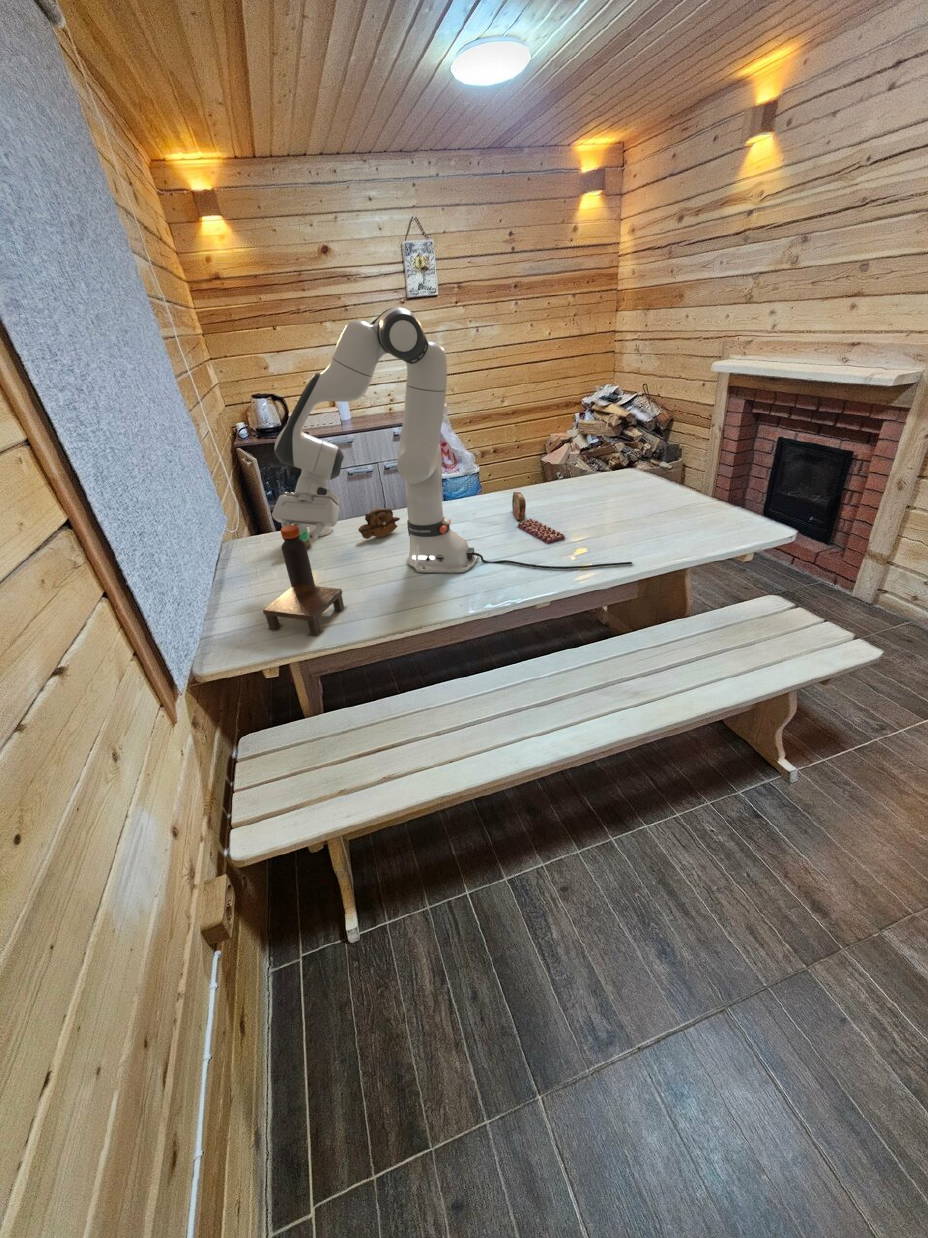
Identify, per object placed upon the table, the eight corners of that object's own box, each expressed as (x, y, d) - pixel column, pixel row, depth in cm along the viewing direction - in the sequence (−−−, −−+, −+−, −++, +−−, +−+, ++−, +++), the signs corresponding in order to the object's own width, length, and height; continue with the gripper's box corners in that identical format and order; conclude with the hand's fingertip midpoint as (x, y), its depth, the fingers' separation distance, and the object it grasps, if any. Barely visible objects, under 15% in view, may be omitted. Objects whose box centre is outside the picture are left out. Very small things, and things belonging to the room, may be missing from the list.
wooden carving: (366, 544, 185) (361, 517, 180) (359, 541, 188) (354, 514, 183) (403, 531, 194) (400, 505, 189) (396, 528, 197) (393, 502, 192)
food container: (303, 556, 179) (297, 529, 174) (287, 555, 180) (280, 528, 175) (319, 542, 189) (313, 515, 184) (303, 541, 190) (297, 515, 185)
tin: (511, 509, 208) (511, 489, 203) (519, 509, 208) (519, 488, 204) (518, 523, 195) (518, 501, 191) (526, 522, 195) (526, 500, 191)
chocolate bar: (532, 522, 195) (533, 517, 194) (564, 538, 180) (564, 533, 179) (516, 526, 192) (516, 521, 191) (547, 543, 178) (547, 537, 177)
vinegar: (288, 594, 155) (271, 531, 145) (302, 584, 161) (287, 523, 150) (306, 597, 153) (291, 534, 143) (320, 587, 158) (306, 525, 148)
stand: (345, 607, 147) (341, 589, 144) (317, 636, 135) (312, 616, 132) (299, 602, 151) (295, 583, 148) (268, 629, 139) (262, 609, 136)
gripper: (274, 487, 154) (262, 530, 151) (335, 490, 149) (323, 535, 146) (286, 496, 160) (275, 538, 157) (345, 500, 154) (334, 544, 152)
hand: (299, 537), depth 152 cm, fingers open, 8 cm apart
